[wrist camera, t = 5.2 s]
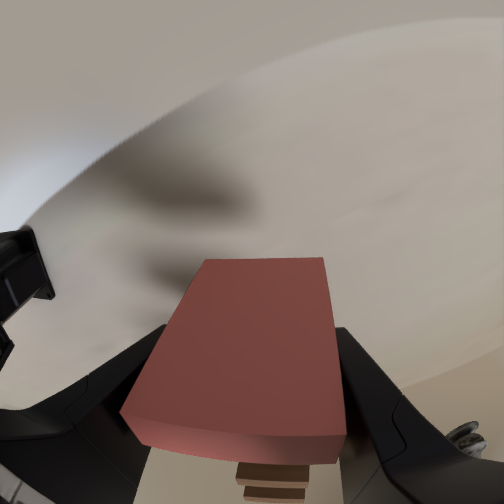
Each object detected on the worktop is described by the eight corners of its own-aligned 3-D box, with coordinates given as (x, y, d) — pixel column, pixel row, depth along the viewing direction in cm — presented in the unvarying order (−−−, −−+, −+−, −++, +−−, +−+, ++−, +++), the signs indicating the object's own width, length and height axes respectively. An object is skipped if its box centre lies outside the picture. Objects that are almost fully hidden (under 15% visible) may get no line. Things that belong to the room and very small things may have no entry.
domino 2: (309, 407, 23) (307, 488, 16) (252, 405, 23) (238, 484, 16) (310, 396, 22) (308, 481, 15) (251, 395, 23) (235, 478, 16)
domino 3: (306, 433, 25) (303, 503, 18) (256, 432, 26) (245, 500, 18) (307, 425, 24) (304, 499, 17) (255, 424, 25) (243, 496, 18)
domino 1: (321, 290, 13) (336, 463, 5) (210, 290, 13) (142, 444, 6) (322, 257, 12) (346, 433, 5) (204, 259, 13) (119, 412, 6)
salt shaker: (433, 440, 25) (448, 521, 14) (473, 415, 22) (497, 497, 11) (449, 447, 26) (463, 518, 15) (485, 424, 23) (505, 496, 12)
